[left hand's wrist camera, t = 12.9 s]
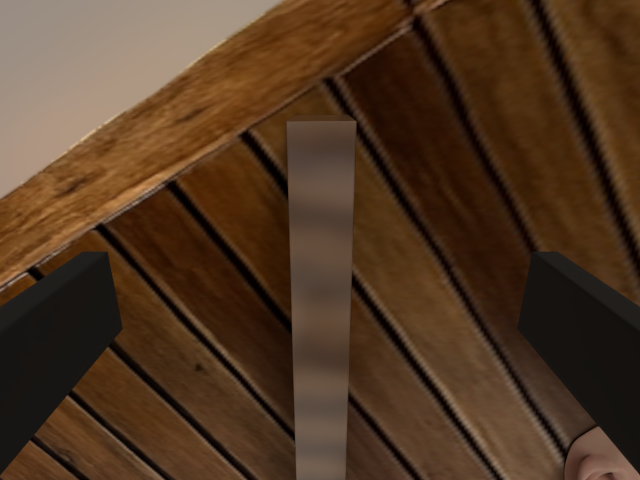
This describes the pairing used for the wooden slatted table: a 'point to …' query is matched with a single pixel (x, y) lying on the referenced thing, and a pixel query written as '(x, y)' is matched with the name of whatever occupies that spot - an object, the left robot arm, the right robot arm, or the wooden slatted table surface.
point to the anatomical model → (597, 459)
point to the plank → (321, 287)
